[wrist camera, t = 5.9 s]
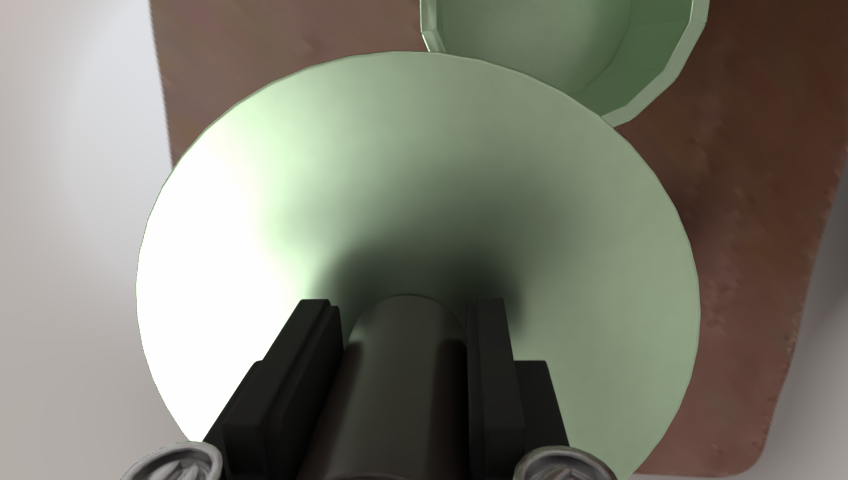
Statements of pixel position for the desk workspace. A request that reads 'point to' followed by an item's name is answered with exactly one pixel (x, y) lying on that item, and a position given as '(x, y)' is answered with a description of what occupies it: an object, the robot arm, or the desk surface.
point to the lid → (421, 260)
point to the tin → (575, 44)
